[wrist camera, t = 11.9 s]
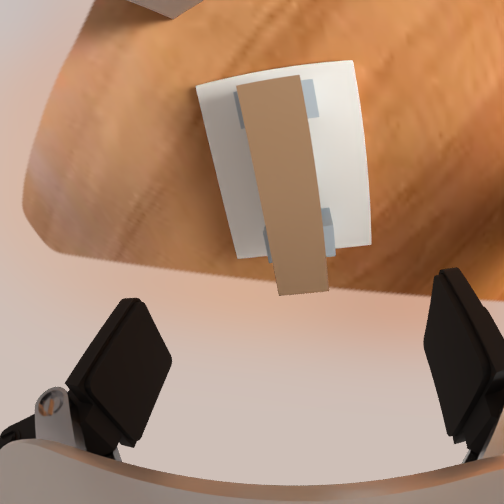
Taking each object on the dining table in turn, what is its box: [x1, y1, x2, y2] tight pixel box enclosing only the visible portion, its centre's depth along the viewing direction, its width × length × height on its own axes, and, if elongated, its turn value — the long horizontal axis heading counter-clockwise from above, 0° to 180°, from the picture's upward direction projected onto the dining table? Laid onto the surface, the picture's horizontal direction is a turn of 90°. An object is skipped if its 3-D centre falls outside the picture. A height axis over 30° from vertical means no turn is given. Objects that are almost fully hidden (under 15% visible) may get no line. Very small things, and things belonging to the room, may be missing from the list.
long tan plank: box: [236, 75, 329, 296], centre depth 23 cm, size 4×16×4 cm, turn 11°
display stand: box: [196, 60, 371, 263], centre depth 27 cm, size 14×18×6 cm
